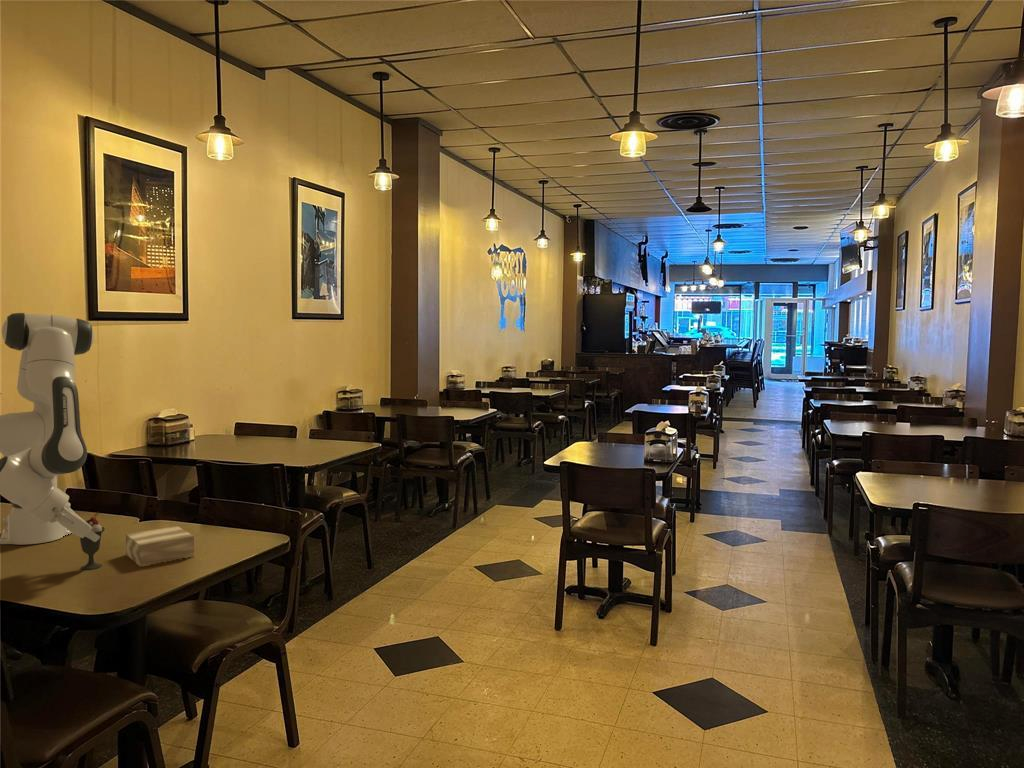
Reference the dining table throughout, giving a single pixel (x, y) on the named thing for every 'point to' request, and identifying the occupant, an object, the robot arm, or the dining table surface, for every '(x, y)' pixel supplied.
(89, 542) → the sundae
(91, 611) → the dining table surface
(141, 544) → the block
